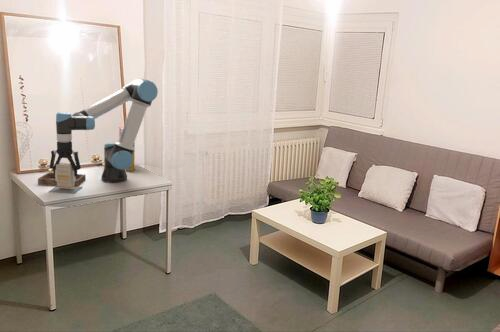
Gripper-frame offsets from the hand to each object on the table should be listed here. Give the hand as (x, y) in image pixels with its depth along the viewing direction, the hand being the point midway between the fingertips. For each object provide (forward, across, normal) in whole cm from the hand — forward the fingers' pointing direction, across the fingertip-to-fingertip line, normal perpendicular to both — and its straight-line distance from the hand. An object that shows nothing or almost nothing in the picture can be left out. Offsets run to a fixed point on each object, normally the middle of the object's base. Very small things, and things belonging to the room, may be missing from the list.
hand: (65, 181), depth 236 cm
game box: (+5, -20, -56) cm, 60 cm away
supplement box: (+3, 0, 0) cm, 3 cm away
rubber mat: (+5, 0, 0) cm, 5 cm away
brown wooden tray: (+5, +7, -14) cm, 16 cm away
